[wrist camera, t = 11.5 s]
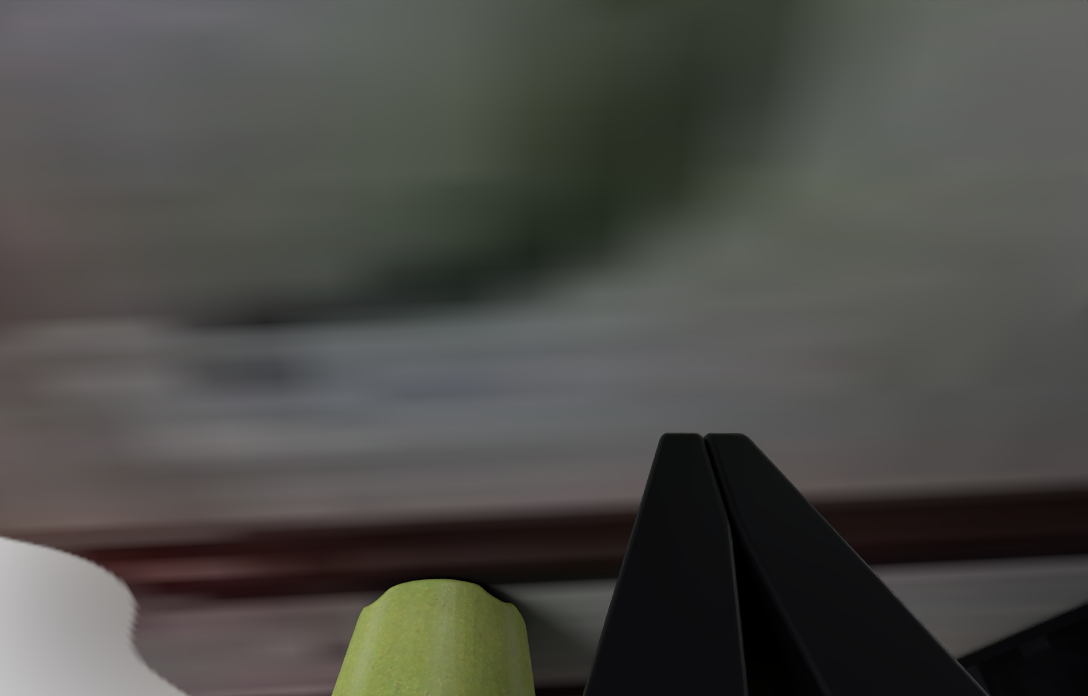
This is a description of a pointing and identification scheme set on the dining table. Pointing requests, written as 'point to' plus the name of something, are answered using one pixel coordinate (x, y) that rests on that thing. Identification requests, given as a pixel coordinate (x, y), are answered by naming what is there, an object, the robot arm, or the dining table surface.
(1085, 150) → the dining table surface
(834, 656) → the robot arm
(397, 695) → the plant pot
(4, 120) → the dining table surface
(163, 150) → the dining table surface
